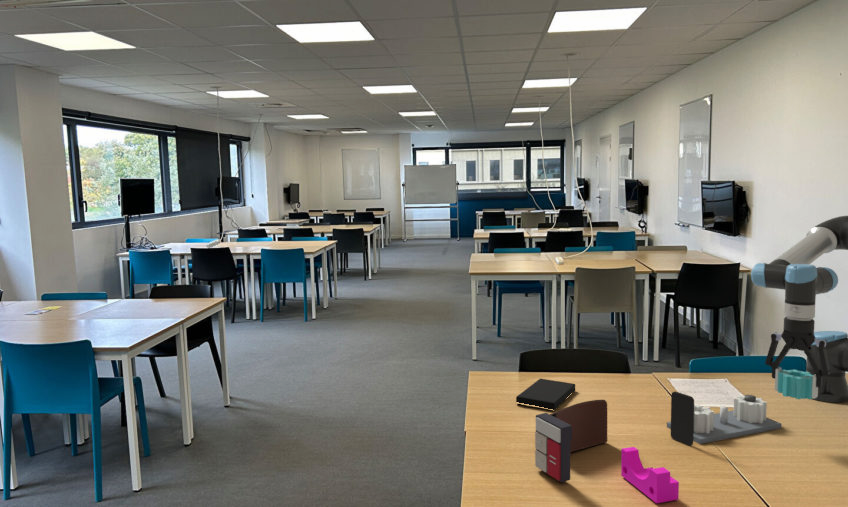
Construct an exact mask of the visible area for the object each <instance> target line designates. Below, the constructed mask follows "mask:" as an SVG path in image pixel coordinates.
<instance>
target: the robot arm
mask: <svg viewBox="0 0 848 507" xmlns="http://www.w3.org/2000/svg"><path fill="white" fill-rule="evenodd" d="M835 250H838V251H839V250H843V251H844V250H846V251H848V215H841V216H836V217H833V218H830V219H828V220H827V219H826V220H825V221H822V222H821V223H818V224H817V225H815V226H813V227H812V228H810V229H809V230H808V231H807V233H806V235H805V237H804V238H803V239H801V240H799V241H798V242H797V243H796V244H794V245H792V246H791V247H790V248H789V249H787V250H786V251H784V252H783V253H782V254H780V255H779V256H778V257H776V258H775V259H774V260H772V261H771V262H769V263H766V262H762V263H760V262H759V263H756V264H755V265H753V267H752V269H751V274H750V275H751V276H750V277H751V281H752V284H753V285H754V286H756V287H761V288H765V289H777V290H783V291H784V290H785V291H784V293H785V294H784V305H783V306H784V311H783V313H784V316H785V317H784V318H783V330H782V333H778V332H776V331H775V332H773V333H771V334H770V340H771V342H770V346H769V349H768V352H767V355H766V358H765V365H766V366H769V367H770V368H771V378H772V379H774V391H776V392H778V375H779V372H782V370H783V369H782V367H780V364H781V363H782V362H783V361H784V359H785V358H786V356H787V354H788V352H790V350H798V351H802V352H803V353H804V354H805V355H806V365H805V366H806V370H805V372H810V374H811V375H814V376H813V381H812V399H811V400H816V401H820V402H825V403H826V402H827V403H845V402H848V381H847V378H846V373H848V333H847V332H846V331H839V330H824V331H823V330H822V331H821V330H820V331H815V319H814V318H815V317H816V299H817V295H821V294H827V293H829V292H831V291H833V290H835V288H836V287H837V286H838V283H839V277H838V274H837V273H836V272H835V270H833V269H832V268H830V267H825V266H824V267H823V266H822V267H821V266H816V265H813V264H812V263H814V262H815V261H816V260H817V259H818V258H820V257H821V256H822V255H824V254H829V253H831V252H833V251H835ZM781 339H782V340H783V341H784V342H785V344H784V346H783V347H782V350H781V351H780V352H779V354H778V355H777V357H776V359H775V360H774V358H775V354H776V352H777V348H778V345H779V341H780V340H781Z"/></svg>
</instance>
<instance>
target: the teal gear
mask: <svg viewBox="0 0 848 507" xmlns="http://www.w3.org/2000/svg"><path fill="white" fill-rule="evenodd" d="M813 376H814V375H811V374H810V372H806V371H802V370H798V369H789V370H788V369H787V370H786V369H782V370H781V372H779V375H778V391H777V393H778V394H782V396H783V397H786V398H788V397H789V398H791V399H796V400H801V399H802V400H804V399H808V400H813V399H812V381H813Z"/></svg>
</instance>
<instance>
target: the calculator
mask: <svg viewBox="0 0 848 507" xmlns="http://www.w3.org/2000/svg"><path fill="white" fill-rule="evenodd" d="M550 414H551V413H547V412H544V413H540V414H539V413H538V414H536V415H535V432H534V439H535V440H534V442H535V443H534V447H535V450H534V452H535V453H534V458H535V459H534V461H535V462H534V463H535V464H534V465H535V467H536V468H537V469H539V470H541V471H542V472H544V473H546V474H547V475H548V476H550V477H552V478H554V479H555V480H557V481H558V482H559V483H564V482H567V481H570V480H571V452H570V443H571V440H572V426H571V425H570V424H568V423H566V422H564V421H562V420H560V419H558V418H556V417H554V416H552V415H550Z"/></svg>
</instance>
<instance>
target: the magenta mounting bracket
mask: <svg viewBox="0 0 848 507" xmlns="http://www.w3.org/2000/svg"><path fill="white" fill-rule="evenodd" d="M620 461H621V464H620V466H621V469H620V470H621V471H620V473H621V474H620V475H621V477H623V478H624V479H625V480H626V481H628V482H629V483H630V484H632V485H633V486H634V487H635V488H637V489H638V490H639V491H641V493H643V494H644V495H645V496H647V498H649V499H650V500H652V501H653V502H654V503H655V504H660V503H666V502H671V501H678V500H679V497H680V496H679V493H680V492H679V489H680V488H679V486H680V485H679V483H680V481H678V480H677V479H675V478H674V477H673V476H671V471H670V470H668V469H667V468H665V467H664V466H662V467H655V468H654V467H653V466H652V467H647V468H646V467H644V466H643V463H642V461H641V458H640V453H639V449H638V448H636V447H635V446H631V447H623V448H621V460H620Z"/></svg>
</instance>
